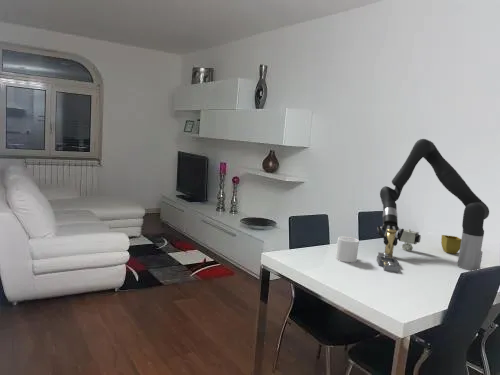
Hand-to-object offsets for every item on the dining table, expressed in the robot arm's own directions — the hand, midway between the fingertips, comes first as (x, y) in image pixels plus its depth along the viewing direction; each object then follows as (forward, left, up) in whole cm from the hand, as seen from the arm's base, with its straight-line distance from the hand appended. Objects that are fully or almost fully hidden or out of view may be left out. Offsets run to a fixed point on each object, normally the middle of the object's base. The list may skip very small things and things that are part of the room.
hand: (390, 244), depth 203 cm
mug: (+22, +16, -7) cm, 28 cm away
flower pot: (-38, -29, -7) cm, 48 cm away
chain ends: (+3, +15, -7) cm, 17 cm away
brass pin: (0, -2, -7) cm, 7 cm away
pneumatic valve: (-13, -21, -7) cm, 26 cm away
